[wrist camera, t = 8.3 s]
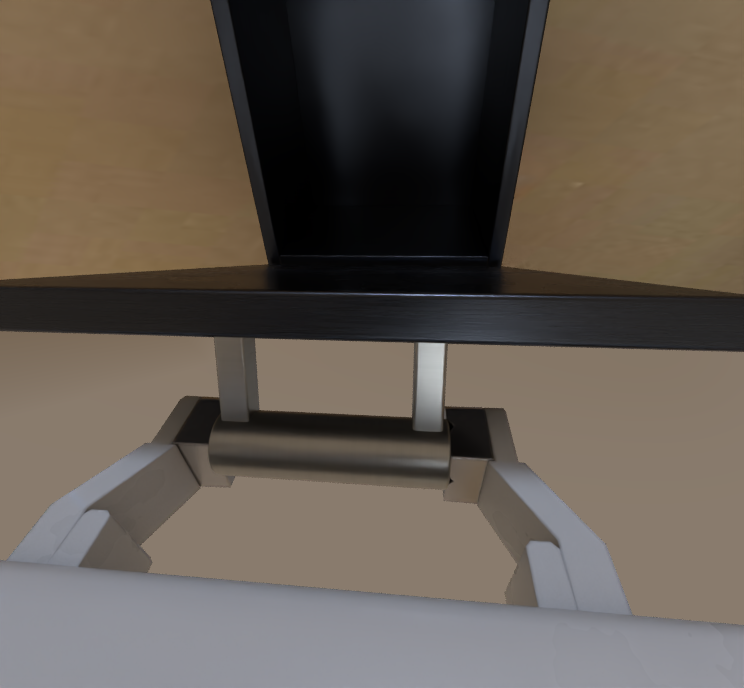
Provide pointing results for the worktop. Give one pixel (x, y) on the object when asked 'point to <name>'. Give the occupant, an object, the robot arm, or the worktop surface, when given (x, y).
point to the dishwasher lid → (365, 323)
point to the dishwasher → (382, 124)
